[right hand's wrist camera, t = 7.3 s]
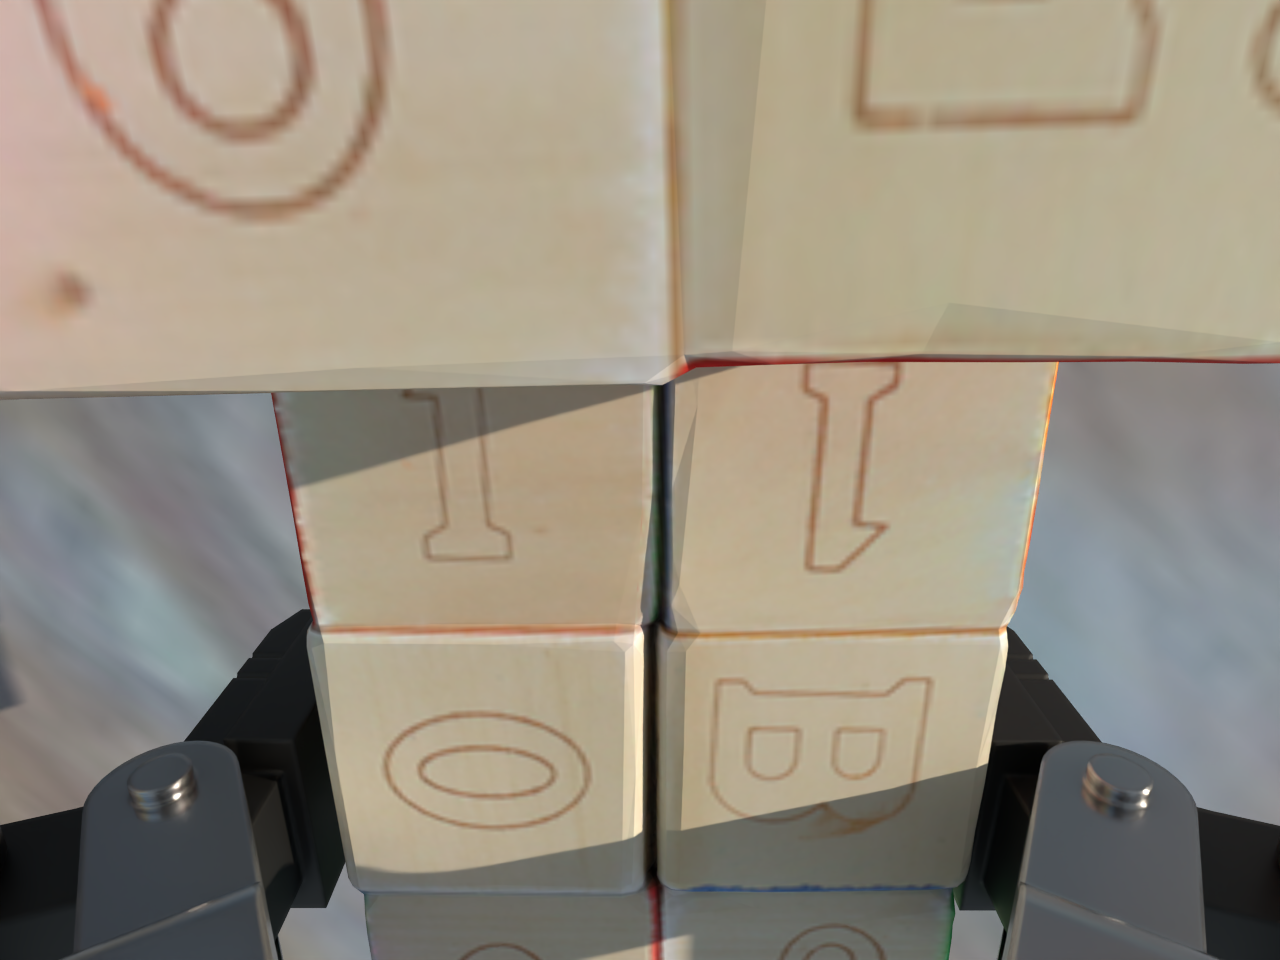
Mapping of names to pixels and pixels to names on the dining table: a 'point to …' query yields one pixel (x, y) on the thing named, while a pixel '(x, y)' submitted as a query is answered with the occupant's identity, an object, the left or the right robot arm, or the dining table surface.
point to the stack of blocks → (644, 399)
